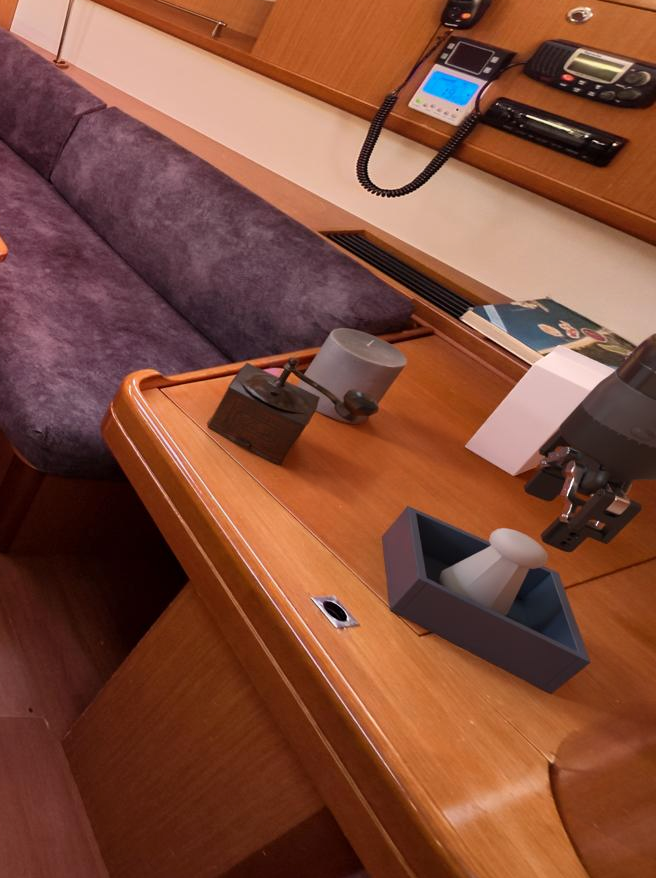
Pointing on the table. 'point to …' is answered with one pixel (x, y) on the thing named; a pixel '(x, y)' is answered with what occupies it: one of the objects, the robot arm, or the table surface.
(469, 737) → the table surface
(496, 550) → the salt shaker
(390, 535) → the bin
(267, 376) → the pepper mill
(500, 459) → the milk
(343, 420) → the pillar candle
